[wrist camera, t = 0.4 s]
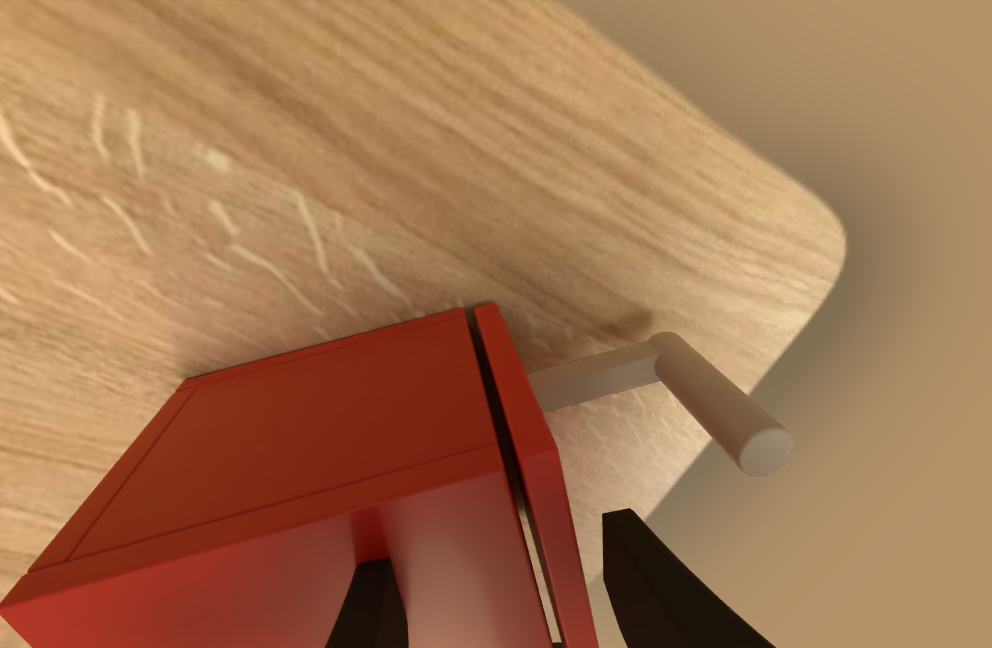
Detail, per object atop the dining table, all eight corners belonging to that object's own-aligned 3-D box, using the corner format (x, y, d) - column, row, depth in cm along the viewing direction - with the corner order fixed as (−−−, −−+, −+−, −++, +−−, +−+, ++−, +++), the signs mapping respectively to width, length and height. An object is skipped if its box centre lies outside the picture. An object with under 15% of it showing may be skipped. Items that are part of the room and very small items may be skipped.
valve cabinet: (463, 306, 17) (504, 467, 10) (519, 516, 21) (579, 745, 14) (183, 379, 17) (-9, 610, 9) (297, 580, 21) (231, 852, 13)
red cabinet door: (653, 259, 17) (828, 372, 10) (672, 478, 21) (805, 670, 14) (472, 307, 17) (518, 459, 10) (527, 520, 21) (588, 737, 14)
